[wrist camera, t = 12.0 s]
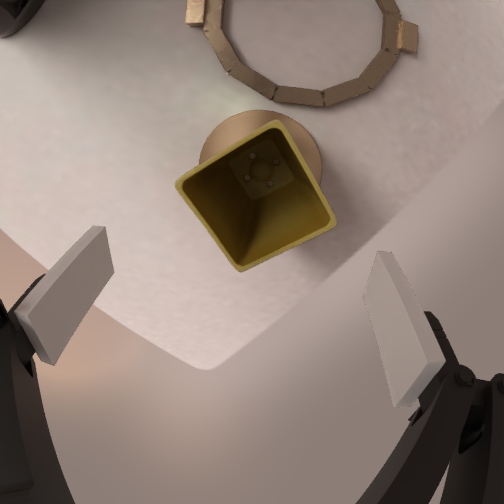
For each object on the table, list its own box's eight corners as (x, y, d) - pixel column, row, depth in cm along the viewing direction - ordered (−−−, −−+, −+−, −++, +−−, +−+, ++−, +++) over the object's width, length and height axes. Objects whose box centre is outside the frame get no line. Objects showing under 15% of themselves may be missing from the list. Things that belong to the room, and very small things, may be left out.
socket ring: (185, 97, 26) (181, 98, 24) (199, -57, 17) (195, -63, 15) (402, 122, 25) (408, 124, 24) (411, -30, 16) (417, -34, 15)
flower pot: (323, 187, 29) (340, 226, 21) (248, 226, 32) (238, 275, 24) (278, 108, 25) (279, 116, 18) (200, 155, 28) (170, 183, 20)
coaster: (200, 219, 32) (199, 222, 32) (201, 107, 26) (200, 107, 26) (311, 230, 32) (312, 232, 31) (328, 117, 26) (329, 118, 25)
